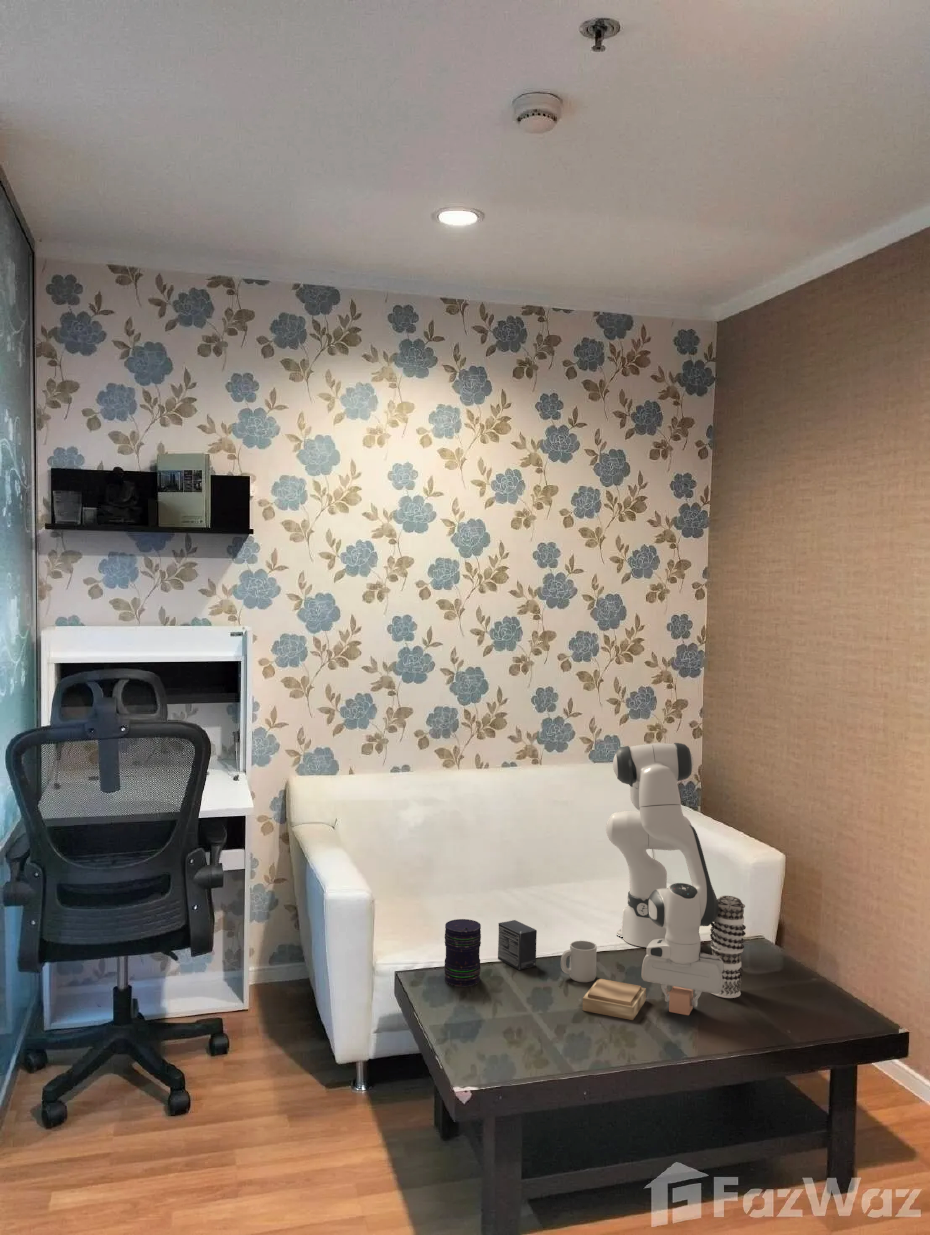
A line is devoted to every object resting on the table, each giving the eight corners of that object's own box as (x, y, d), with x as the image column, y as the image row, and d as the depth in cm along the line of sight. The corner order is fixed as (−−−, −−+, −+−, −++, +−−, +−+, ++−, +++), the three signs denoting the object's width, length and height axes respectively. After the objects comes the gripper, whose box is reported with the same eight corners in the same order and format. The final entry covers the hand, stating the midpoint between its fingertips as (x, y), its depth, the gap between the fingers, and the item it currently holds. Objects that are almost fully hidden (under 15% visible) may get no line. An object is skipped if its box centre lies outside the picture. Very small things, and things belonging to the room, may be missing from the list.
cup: (599, 981, 273) (600, 949, 273) (564, 984, 271) (564, 951, 271) (591, 971, 280) (591, 940, 280) (556, 973, 278) (557, 942, 278)
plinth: (597, 991, 267) (597, 976, 266) (645, 1000, 261) (646, 985, 261) (582, 1010, 255) (582, 994, 255) (632, 1020, 249) (633, 1004, 249)
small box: (537, 966, 284) (538, 929, 283) (519, 971, 280) (519, 933, 279) (514, 954, 292) (515, 918, 292) (496, 958, 289) (497, 922, 288)
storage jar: (439, 974, 277) (440, 920, 276) (473, 970, 280) (474, 917, 279) (450, 988, 267) (451, 933, 266) (485, 984, 270) (486, 929, 270)
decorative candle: (699, 990, 267) (705, 897, 266) (717, 981, 274) (722, 891, 273) (731, 1001, 261) (736, 906, 260) (748, 992, 268) (753, 899, 267)
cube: (673, 1004, 259) (673, 985, 259) (692, 1007, 257) (693, 988, 257) (669, 1011, 255) (669, 992, 255) (688, 1015, 253) (689, 995, 252)
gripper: (726, 952, 254) (724, 1006, 255) (646, 939, 262) (645, 991, 263) (721, 960, 248) (720, 1016, 249) (640, 947, 257) (639, 1000, 257)
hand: (681, 1003), depth 256 cm, fingers closed on cube, 5 cm apart
